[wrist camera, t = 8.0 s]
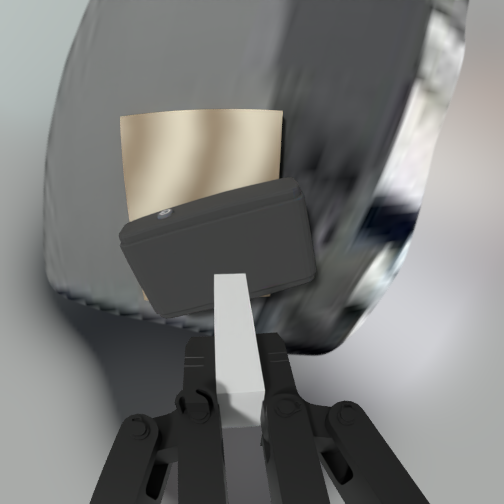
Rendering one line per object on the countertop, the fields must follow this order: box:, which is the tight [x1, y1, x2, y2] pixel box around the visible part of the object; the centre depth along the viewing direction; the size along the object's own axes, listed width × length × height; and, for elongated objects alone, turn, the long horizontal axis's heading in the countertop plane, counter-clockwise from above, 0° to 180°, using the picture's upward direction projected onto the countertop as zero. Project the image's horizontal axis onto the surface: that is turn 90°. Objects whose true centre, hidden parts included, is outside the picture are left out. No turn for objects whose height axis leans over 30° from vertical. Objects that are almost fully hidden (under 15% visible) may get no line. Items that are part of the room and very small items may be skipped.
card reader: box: [119, 177, 316, 319], centre depth 24 cm, size 9×4×15 cm
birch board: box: [120, 109, 283, 300], centre depth 25 cm, size 13×18×1 cm
